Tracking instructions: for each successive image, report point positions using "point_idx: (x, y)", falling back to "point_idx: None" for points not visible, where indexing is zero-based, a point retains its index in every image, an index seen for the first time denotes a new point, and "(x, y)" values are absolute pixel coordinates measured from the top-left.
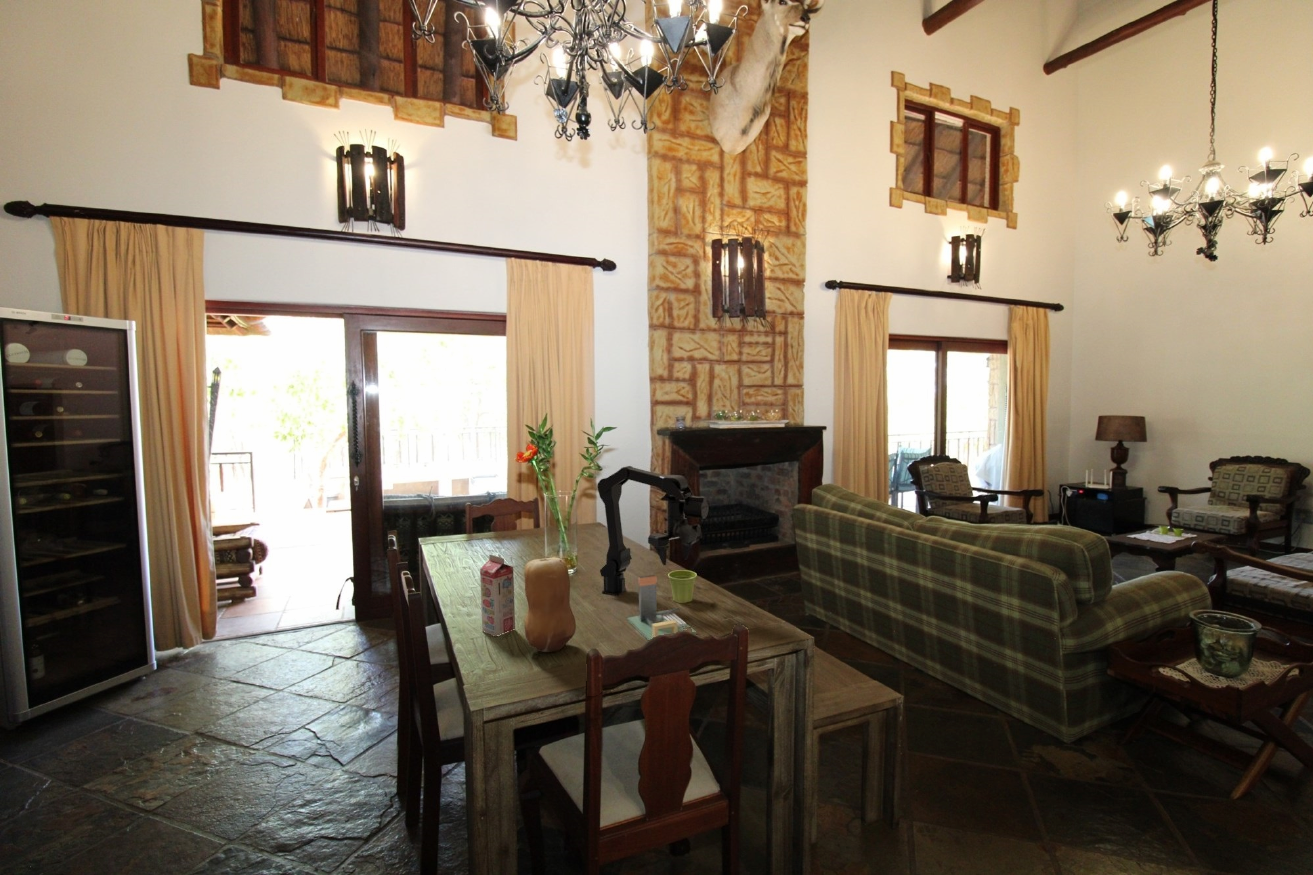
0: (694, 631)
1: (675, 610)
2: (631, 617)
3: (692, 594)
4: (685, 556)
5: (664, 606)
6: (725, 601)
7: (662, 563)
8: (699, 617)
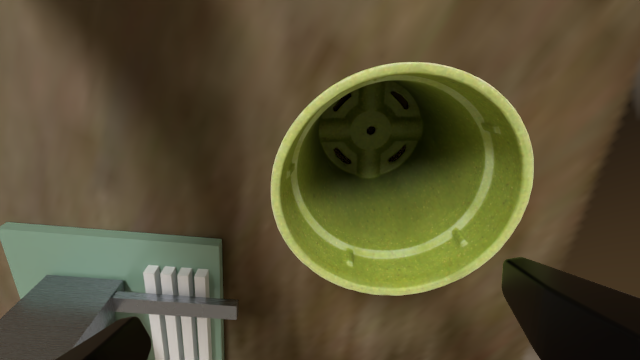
0: None
1: (211, 317)
2: (17, 233)
3: (415, 178)
4: (529, 315)
5: (235, 159)
6: (525, 243)
7: (109, 329)
8: (311, 321)
